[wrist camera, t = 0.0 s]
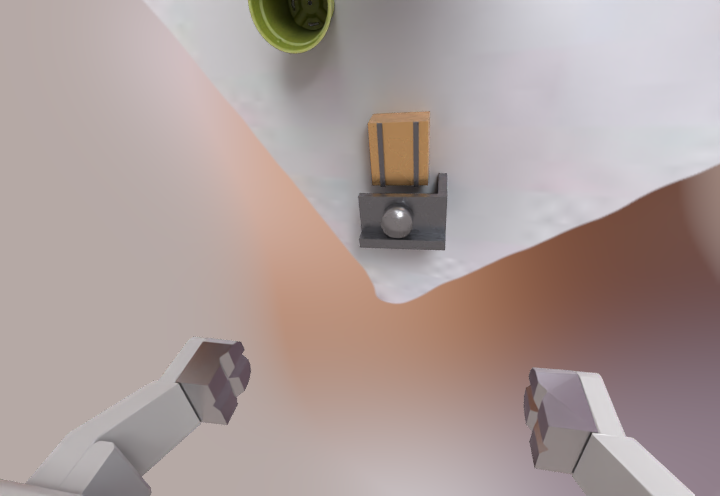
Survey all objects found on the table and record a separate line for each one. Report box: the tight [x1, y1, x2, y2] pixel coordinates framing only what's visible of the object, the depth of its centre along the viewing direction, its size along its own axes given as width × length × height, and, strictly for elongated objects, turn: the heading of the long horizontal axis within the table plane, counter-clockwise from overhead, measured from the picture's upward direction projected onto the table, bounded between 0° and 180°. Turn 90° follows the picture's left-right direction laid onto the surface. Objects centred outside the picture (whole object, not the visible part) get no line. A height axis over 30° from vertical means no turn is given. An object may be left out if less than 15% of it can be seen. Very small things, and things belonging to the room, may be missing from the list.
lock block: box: [368, 111, 430, 187], centre depth 54 cm, size 9×8×5 cm
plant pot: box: [248, 0, 334, 54], centre depth 44 cm, size 9×9×9 cm
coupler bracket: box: [358, 173, 447, 250], centre depth 56 cm, size 7×12×10 cm, turn 95°
